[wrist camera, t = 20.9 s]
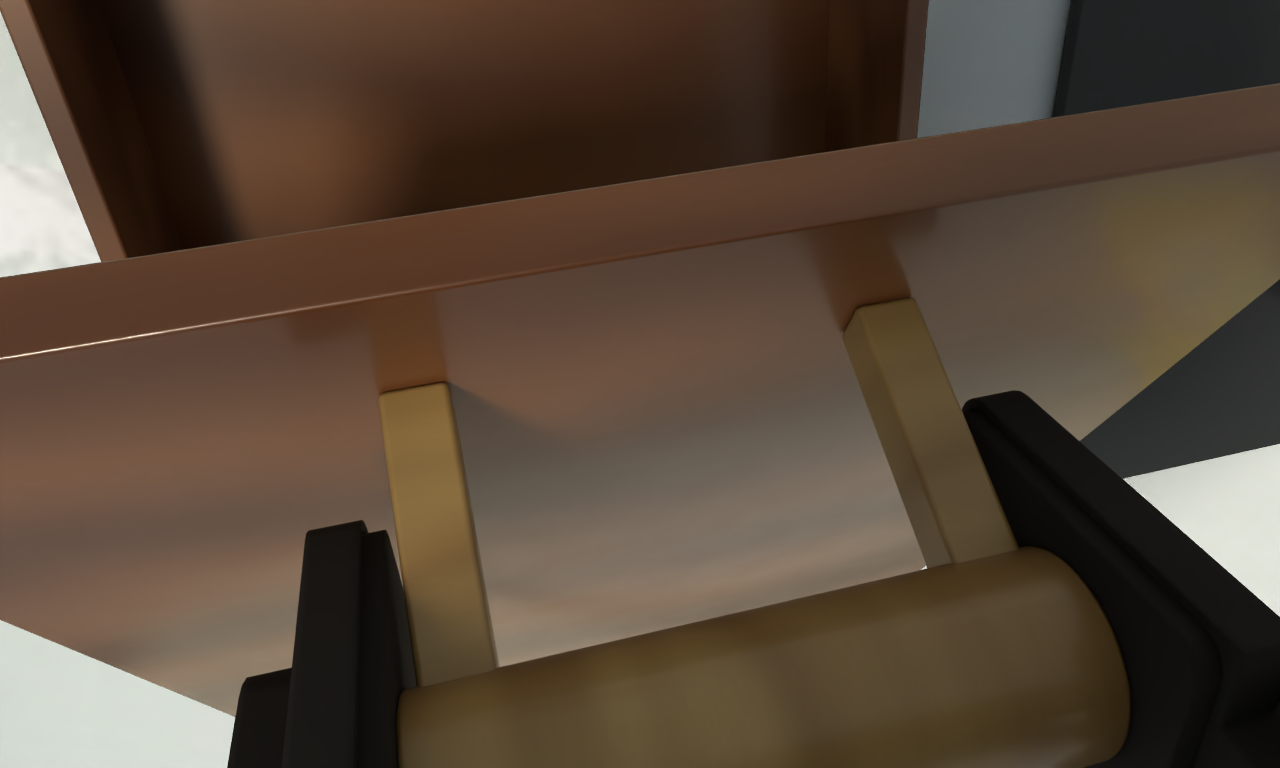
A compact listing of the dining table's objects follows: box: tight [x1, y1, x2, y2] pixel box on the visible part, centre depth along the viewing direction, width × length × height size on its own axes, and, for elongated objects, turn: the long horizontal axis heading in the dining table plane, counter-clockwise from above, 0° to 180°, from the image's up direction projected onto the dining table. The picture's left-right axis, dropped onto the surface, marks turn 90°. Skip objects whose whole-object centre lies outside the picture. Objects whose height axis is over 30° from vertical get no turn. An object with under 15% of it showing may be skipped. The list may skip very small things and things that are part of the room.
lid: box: [0, 83, 1280, 768], centre depth 16 cm, size 20×17×6 cm
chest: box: [0, 0, 929, 262], centre depth 23 cm, size 19×17×4 cm
